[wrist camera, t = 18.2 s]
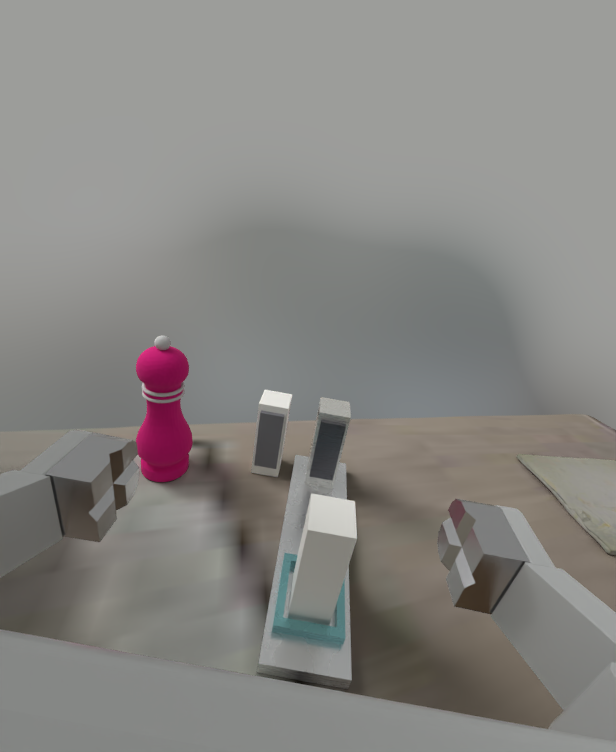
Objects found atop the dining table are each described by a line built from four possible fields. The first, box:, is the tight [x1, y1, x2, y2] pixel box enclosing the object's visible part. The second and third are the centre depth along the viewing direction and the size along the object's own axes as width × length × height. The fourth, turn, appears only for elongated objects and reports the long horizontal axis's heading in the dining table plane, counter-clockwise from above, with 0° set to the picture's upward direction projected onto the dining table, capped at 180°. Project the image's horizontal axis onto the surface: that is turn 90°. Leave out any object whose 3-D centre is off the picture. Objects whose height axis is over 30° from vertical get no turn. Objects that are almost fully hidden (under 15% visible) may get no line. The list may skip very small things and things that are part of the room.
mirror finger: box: [251, 390, 292, 477], centre depth 51 cm, size 4×5×12 cm
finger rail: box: [257, 397, 352, 689], centre depth 40 cm, size 8×28×14 cm, turn 175°
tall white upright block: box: [288, 493, 357, 626], centre depth 33 cm, size 4×5×12 cm
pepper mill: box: [136, 336, 193, 482], centre depth 46 cm, size 7×7×20 cm
